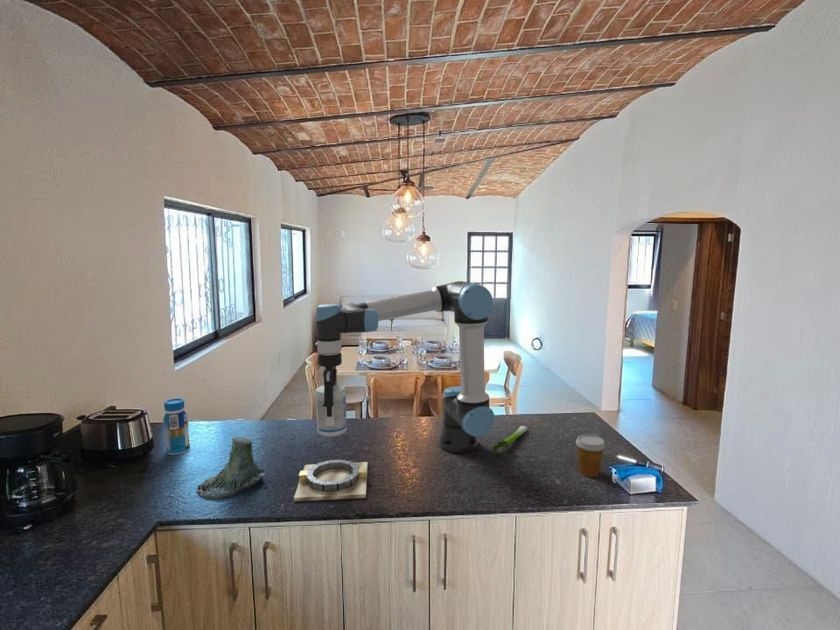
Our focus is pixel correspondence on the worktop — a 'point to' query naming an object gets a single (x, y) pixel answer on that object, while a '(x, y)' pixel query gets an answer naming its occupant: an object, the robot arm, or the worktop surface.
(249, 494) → the worktop surface
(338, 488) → the ring
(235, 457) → the tree stump
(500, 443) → the leek
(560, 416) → the worktop surface
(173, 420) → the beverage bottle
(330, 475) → the base plate
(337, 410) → the supplement tub
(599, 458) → the disposable coffee cup
